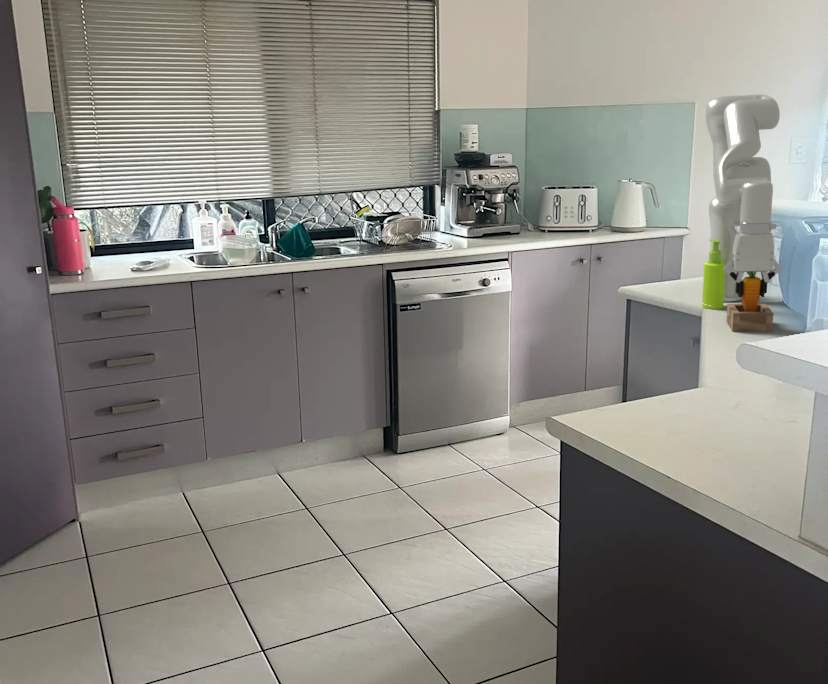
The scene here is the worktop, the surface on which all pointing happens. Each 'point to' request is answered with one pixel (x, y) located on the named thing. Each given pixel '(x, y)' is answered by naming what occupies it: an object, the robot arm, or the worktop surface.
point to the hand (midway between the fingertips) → (750, 295)
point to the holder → (749, 318)
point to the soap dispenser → (713, 279)
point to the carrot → (751, 292)
